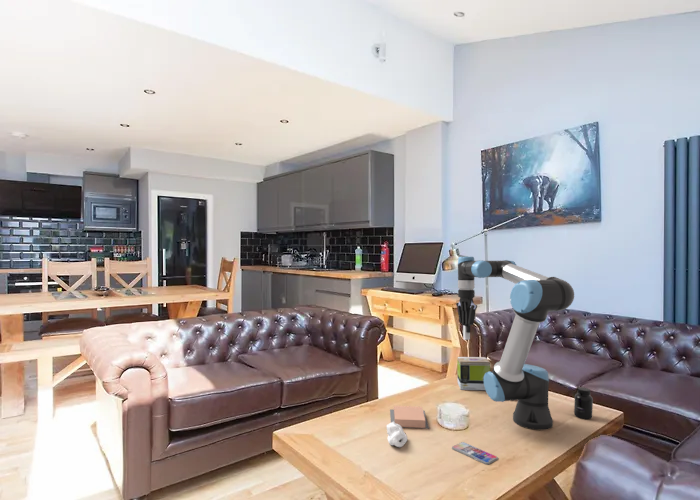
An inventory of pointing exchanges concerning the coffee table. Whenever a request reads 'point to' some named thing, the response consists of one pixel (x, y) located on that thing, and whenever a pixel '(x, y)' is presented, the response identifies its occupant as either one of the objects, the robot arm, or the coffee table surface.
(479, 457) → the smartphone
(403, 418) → the tile
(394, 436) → the white lumpy piece
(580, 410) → the supplement bottle
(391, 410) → the mat
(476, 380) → the tea box
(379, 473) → the coffee table surface
